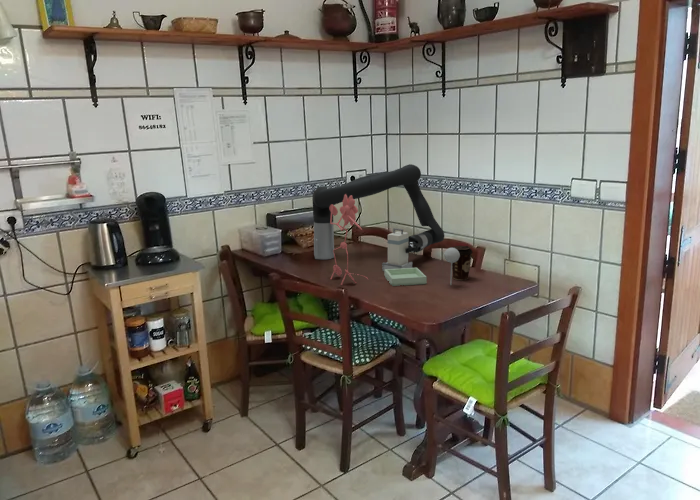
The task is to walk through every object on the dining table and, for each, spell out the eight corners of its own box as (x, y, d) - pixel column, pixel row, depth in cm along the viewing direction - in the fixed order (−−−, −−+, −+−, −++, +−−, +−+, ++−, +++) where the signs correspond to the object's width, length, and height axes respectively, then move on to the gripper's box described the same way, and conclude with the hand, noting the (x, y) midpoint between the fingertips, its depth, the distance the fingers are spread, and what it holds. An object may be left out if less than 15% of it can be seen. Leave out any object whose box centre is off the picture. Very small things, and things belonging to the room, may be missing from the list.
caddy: (398, 272, 233) (398, 231, 228) (387, 270, 236) (387, 229, 232) (408, 268, 239) (408, 227, 235) (397, 266, 242) (397, 226, 238)
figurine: (349, 291, 209) (350, 199, 201) (319, 275, 231) (319, 192, 223) (383, 285, 216) (385, 197, 208) (351, 270, 238) (351, 190, 230)
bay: (400, 274, 230) (400, 266, 229) (382, 270, 236) (382, 263, 235) (412, 268, 238) (412, 261, 237) (394, 265, 244) (394, 258, 243)
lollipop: (449, 288, 211) (450, 250, 207) (439, 284, 216) (440, 247, 212) (461, 285, 213) (463, 248, 210) (452, 281, 218) (453, 245, 215)
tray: (392, 286, 214) (392, 278, 213) (384, 276, 228) (384, 269, 227) (426, 284, 216) (426, 276, 215) (416, 274, 230) (417, 267, 229)
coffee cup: (472, 276, 226) (474, 245, 223) (470, 282, 218) (471, 250, 215) (451, 274, 228) (452, 244, 225) (448, 280, 221) (449, 249, 218)
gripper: (402, 232, 251) (383, 239, 238) (430, 236, 243) (412, 243, 230) (402, 248, 253) (383, 255, 240) (430, 252, 245) (412, 260, 232)
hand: (397, 249), depth 235 cm, fingers open, 8 cm apart
